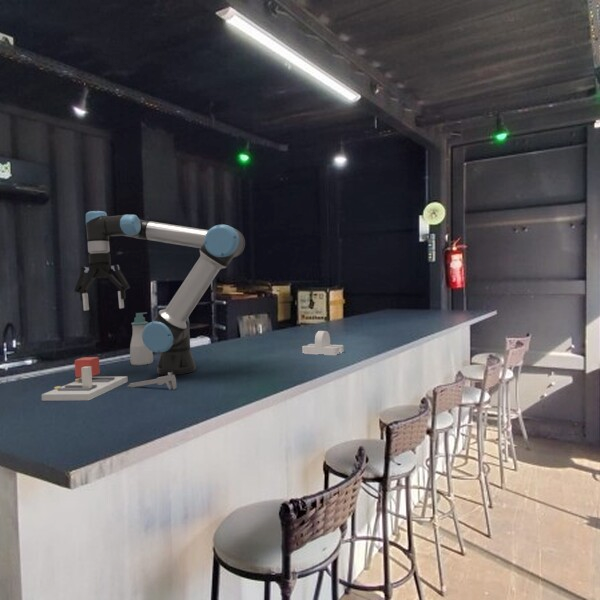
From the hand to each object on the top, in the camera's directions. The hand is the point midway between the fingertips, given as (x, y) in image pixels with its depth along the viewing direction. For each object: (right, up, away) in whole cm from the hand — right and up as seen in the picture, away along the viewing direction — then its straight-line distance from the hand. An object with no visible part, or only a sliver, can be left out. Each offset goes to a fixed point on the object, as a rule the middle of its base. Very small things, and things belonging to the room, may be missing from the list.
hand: (104, 309), depth 179 cm
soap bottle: (+3, -25, +33) cm, 42 cm away
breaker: (+4, -26, -22) cm, 34 cm away
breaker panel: (+1, -28, -16) cm, 32 cm away
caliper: (+23, -27, -15) cm, 39 cm away
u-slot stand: (+85, -22, +46) cm, 99 cm away
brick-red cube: (-2, -23, -10) cm, 25 cm away
